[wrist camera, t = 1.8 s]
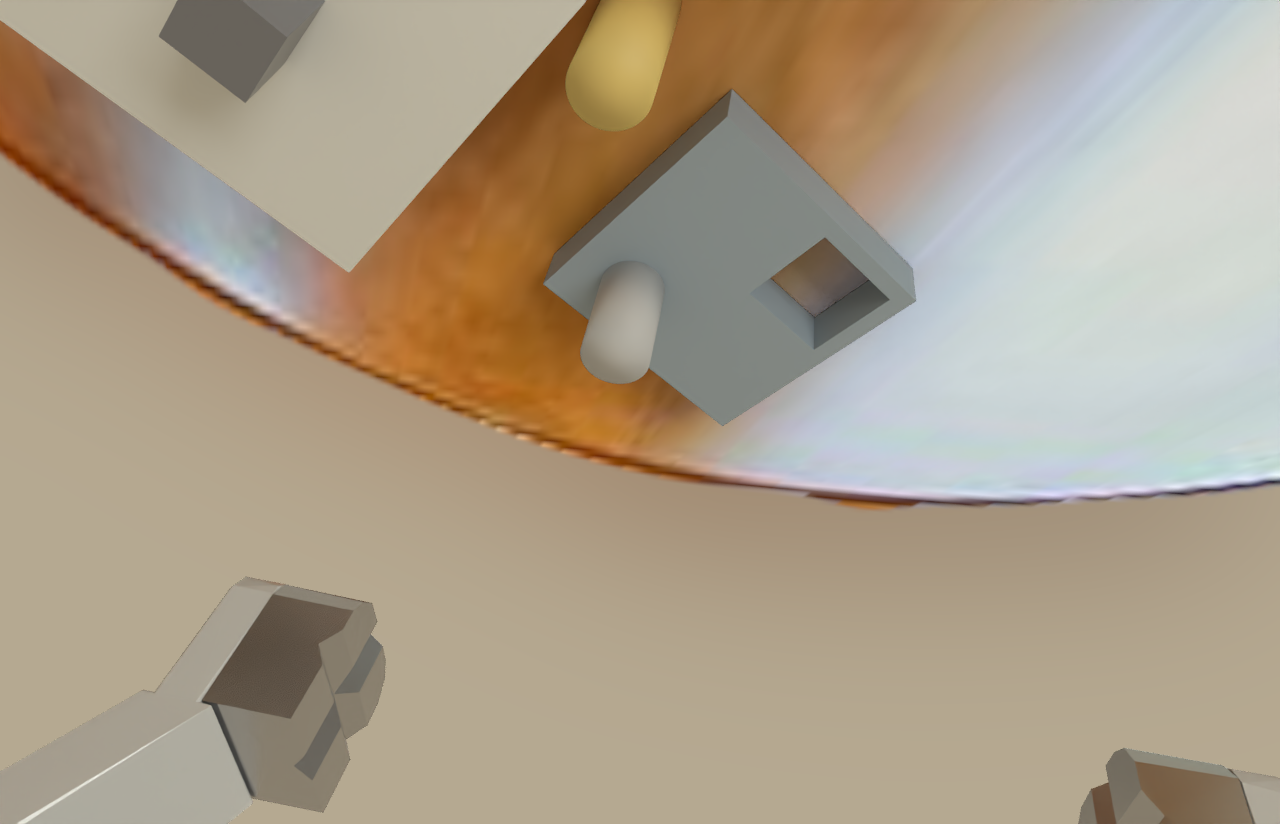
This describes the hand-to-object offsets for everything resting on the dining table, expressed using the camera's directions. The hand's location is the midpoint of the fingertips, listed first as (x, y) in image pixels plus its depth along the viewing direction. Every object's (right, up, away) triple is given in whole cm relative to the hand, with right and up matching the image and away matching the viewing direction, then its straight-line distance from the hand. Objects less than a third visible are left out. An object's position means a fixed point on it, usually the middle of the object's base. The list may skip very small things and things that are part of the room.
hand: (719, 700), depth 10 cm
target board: (+3, +10, +34) cm, 36 cm away
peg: (-1, +19, +27) cm, 33 cm away
